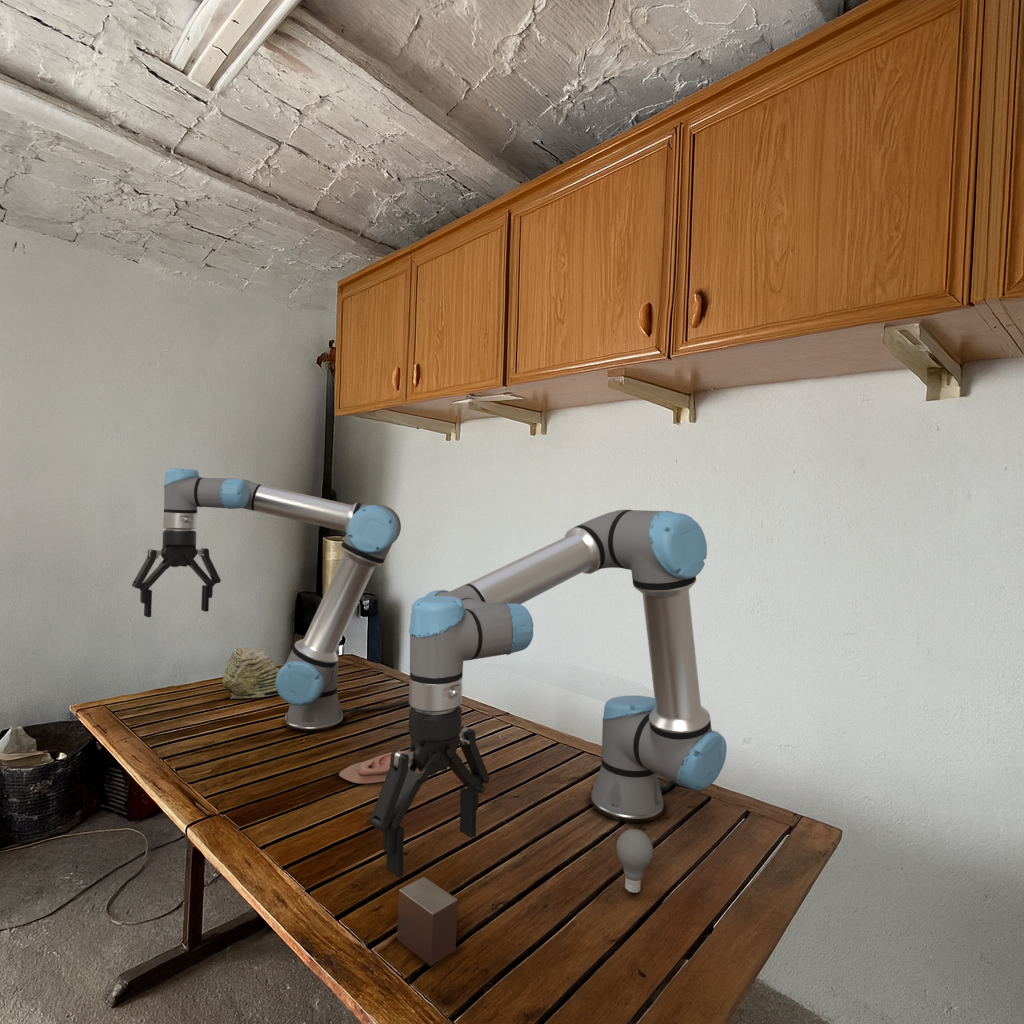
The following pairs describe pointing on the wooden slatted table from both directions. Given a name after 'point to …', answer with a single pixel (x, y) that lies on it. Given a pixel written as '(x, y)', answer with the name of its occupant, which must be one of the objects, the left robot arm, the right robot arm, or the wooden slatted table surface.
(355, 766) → the anatomical model
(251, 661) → the fossil
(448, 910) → the brick
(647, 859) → the light bulb
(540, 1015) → the wooden slatted table surface
